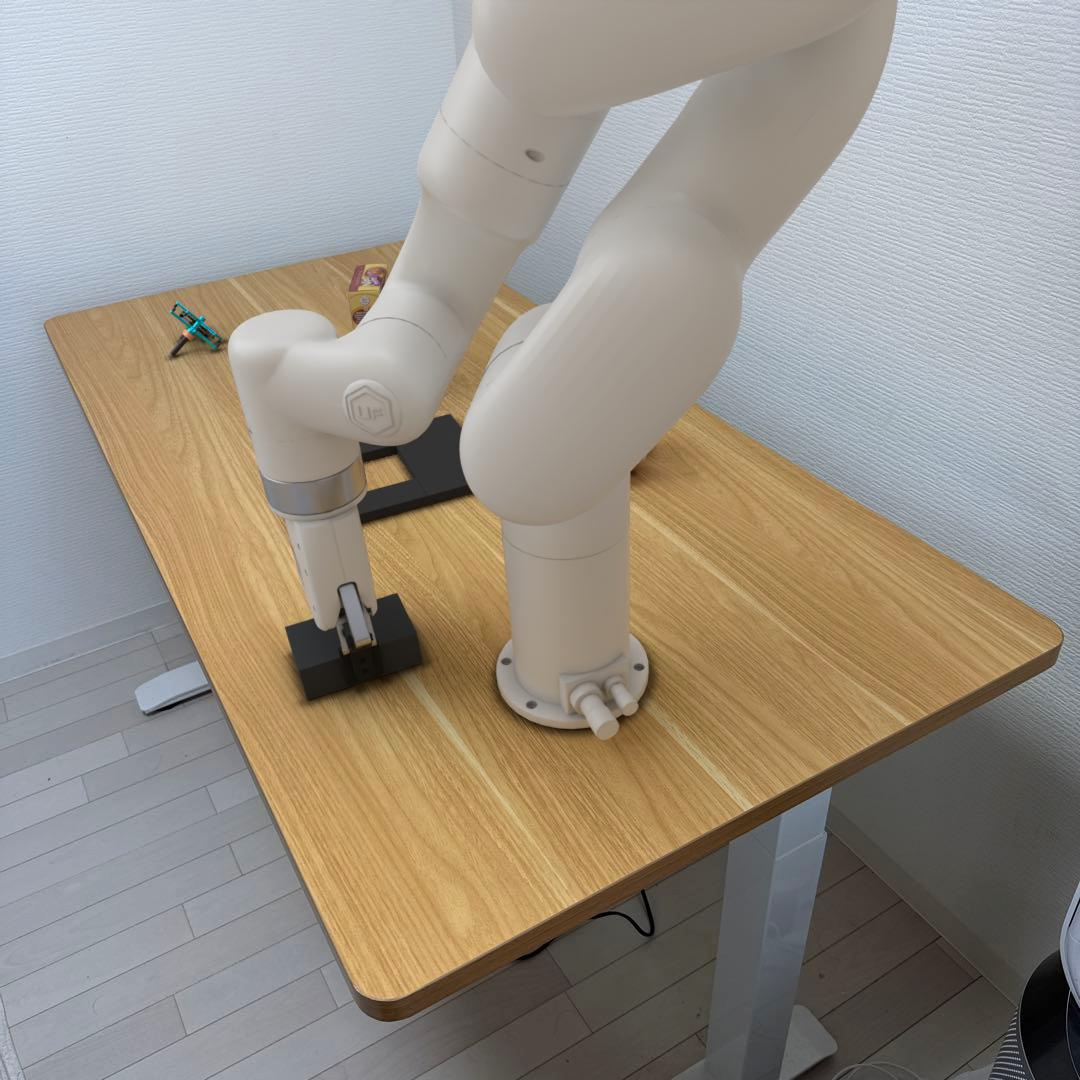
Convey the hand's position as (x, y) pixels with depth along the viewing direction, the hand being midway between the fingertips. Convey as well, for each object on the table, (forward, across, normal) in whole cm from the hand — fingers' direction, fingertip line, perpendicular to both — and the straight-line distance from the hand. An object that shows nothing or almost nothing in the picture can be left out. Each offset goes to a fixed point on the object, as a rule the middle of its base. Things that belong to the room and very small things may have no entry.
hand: (355, 652), depth 83 cm
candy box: (+1, -48, +16) cm, 51 cm away
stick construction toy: (+1, -76, -5) cm, 76 cm away
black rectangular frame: (+1, -28, +10) cm, 30 cm away
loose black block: (+1, 0, 0) cm, 1 cm away
